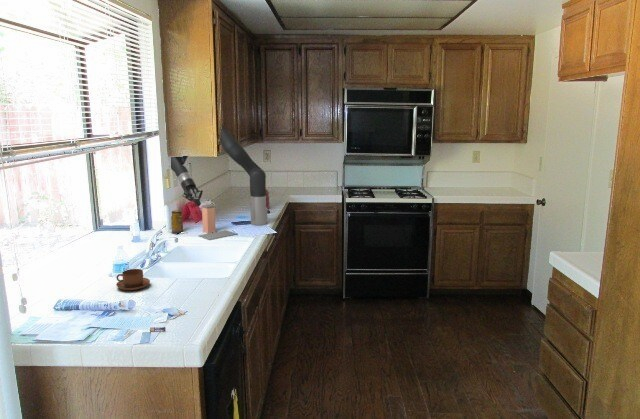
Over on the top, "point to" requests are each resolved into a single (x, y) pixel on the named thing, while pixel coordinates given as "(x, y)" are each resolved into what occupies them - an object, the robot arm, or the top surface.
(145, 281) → the cup and saucer
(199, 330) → the top surface
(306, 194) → the top surface
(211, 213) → the block
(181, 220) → the condiment
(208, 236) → the mat
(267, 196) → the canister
